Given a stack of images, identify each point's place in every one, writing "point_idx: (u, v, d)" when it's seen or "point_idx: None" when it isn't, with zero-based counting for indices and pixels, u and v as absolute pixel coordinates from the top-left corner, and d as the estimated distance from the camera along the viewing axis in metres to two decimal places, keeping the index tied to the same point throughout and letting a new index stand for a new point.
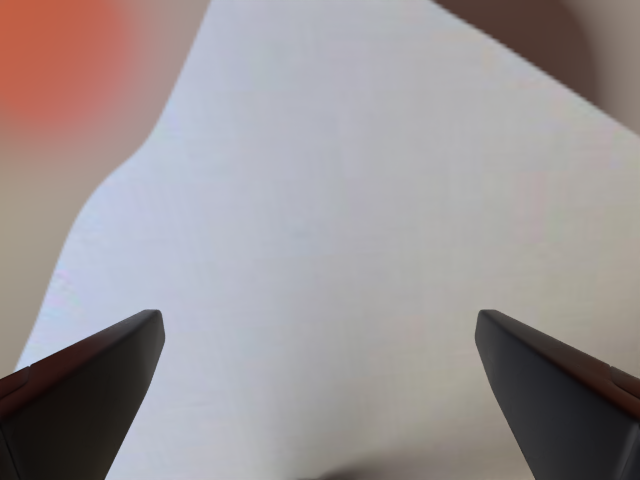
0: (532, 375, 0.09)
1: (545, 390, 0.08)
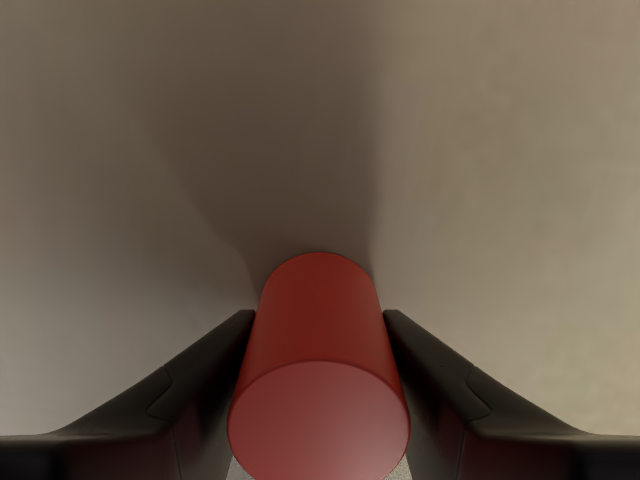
0: (408, 375, 0.09)
1: (415, 390, 0.08)
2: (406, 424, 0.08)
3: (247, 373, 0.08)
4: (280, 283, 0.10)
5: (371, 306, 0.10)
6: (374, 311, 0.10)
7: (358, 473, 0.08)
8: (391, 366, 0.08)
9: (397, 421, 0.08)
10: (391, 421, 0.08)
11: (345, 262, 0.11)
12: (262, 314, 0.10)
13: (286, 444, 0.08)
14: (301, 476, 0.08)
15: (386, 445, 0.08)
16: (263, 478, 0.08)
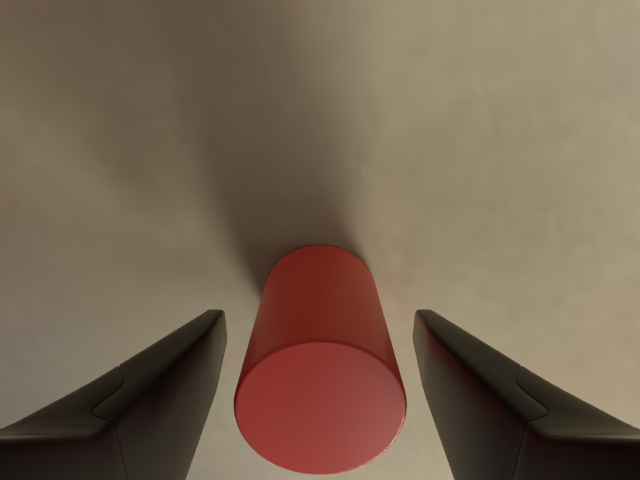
0: (450, 375, 0.09)
1: (460, 390, 0.08)
2: (402, 402, 0.08)
3: (253, 355, 0.08)
4: (283, 274, 0.11)
5: (369, 295, 0.10)
6: (372, 299, 0.10)
7: (357, 449, 0.09)
8: (388, 349, 0.09)
9: (393, 399, 0.08)
10: (388, 399, 0.08)
11: (345, 254, 0.12)
12: (266, 302, 0.10)
13: (289, 422, 0.08)
14: (304, 452, 0.09)
15: (383, 422, 0.08)
16: (268, 455, 0.09)
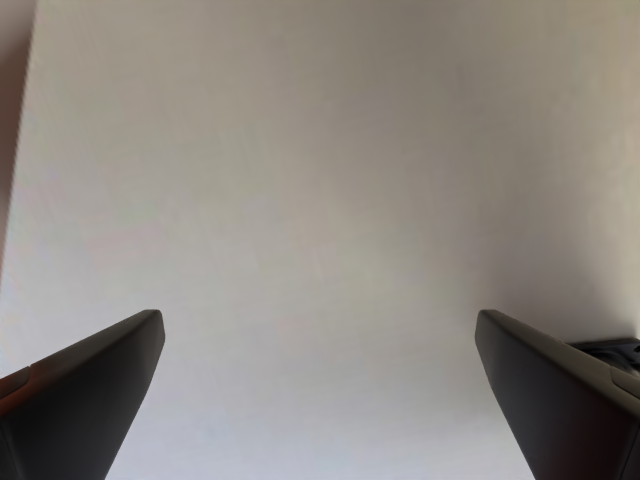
0: (532, 375, 0.09)
1: (545, 390, 0.08)
2: None
3: None
4: None
5: None
6: None
7: None
8: None
9: None
10: None
11: None
12: None
13: None
14: None
15: None
16: None
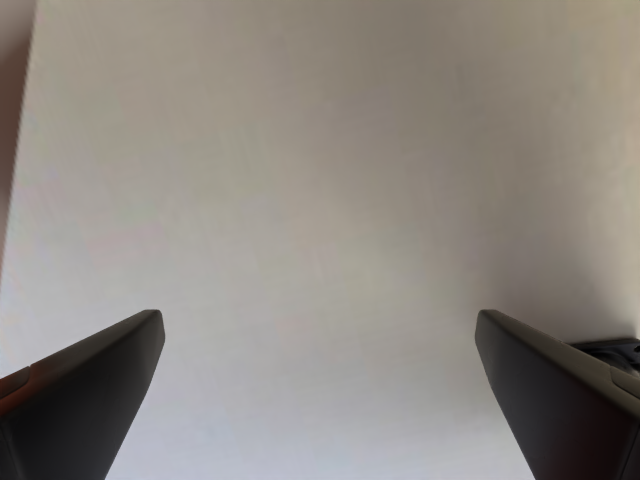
0: (532, 375, 0.09)
1: (545, 390, 0.08)
2: None
3: None
4: None
5: None
6: None
7: None
8: None
9: None
10: None
11: None
12: None
13: None
14: None
15: None
16: None
